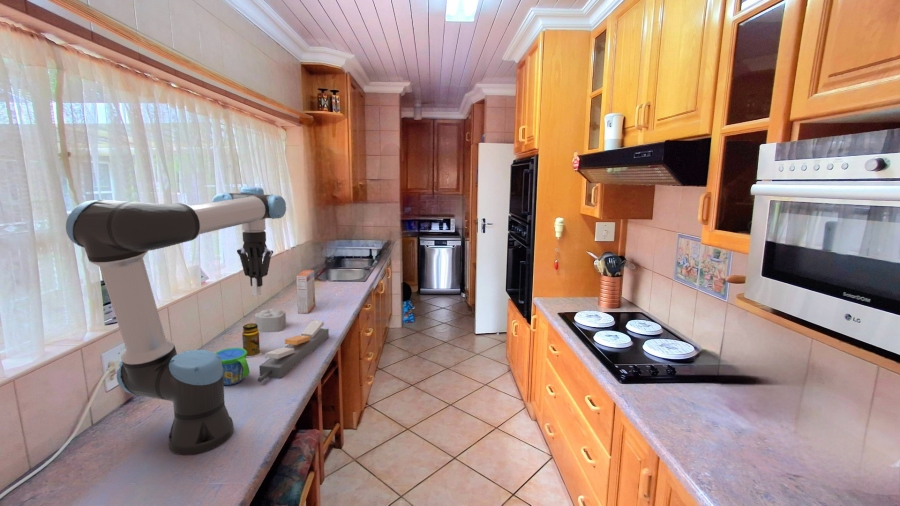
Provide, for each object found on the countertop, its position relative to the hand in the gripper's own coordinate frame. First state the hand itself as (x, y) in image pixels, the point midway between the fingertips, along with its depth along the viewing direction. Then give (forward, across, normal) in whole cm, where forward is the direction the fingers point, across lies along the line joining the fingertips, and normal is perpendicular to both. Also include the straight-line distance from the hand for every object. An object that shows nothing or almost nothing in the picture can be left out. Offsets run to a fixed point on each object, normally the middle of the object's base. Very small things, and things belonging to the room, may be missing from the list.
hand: (257, 294), depth 149 cm
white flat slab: (+22, -8, -26) cm, 35 cm away
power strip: (+28, -8, -10) cm, 31 cm away
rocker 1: (+22, -8, 0) cm, 24 cm away
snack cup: (+28, +3, +12) cm, 31 cm away
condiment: (+28, +11, -10) cm, 32 cm away
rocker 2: (+22, -8, -13) cm, 27 cm away
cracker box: (+28, +16, -68) cm, 75 cm away
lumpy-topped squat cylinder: (+28, +19, -38) cm, 51 cm away
